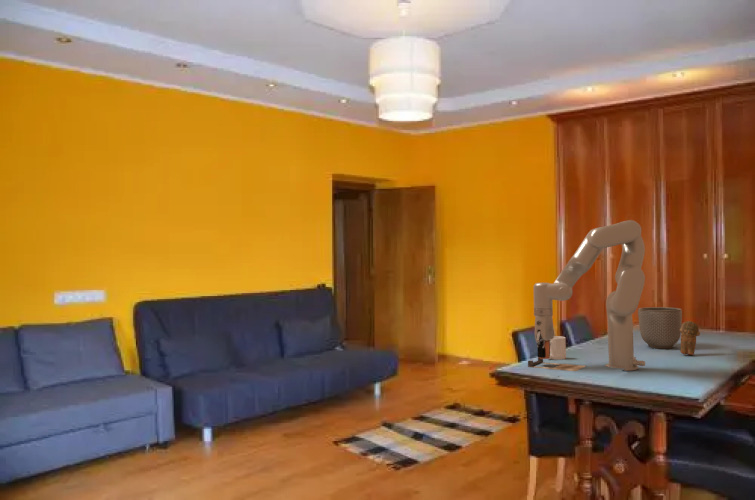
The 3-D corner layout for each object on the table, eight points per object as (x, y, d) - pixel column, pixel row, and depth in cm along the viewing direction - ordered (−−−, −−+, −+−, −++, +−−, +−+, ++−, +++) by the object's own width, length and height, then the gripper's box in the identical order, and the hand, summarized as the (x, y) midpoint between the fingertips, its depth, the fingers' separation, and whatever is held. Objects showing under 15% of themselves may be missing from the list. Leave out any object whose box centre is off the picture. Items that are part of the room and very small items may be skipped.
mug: (553, 363, 265) (552, 339, 265) (537, 361, 271) (536, 338, 271) (569, 360, 272) (569, 337, 272) (554, 358, 279) (553, 335, 279)
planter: (690, 350, 291) (689, 309, 292) (649, 351, 292) (647, 310, 292) (671, 344, 311) (670, 306, 311) (632, 345, 311) (631, 307, 312)
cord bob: (551, 357, 256) (550, 340, 256) (547, 359, 252) (546, 342, 252) (540, 356, 258) (540, 340, 258) (536, 358, 255) (536, 341, 255)
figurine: (680, 356, 275) (679, 322, 276) (679, 353, 283) (678, 320, 283) (702, 356, 272) (700, 323, 272) (700, 354, 280) (698, 321, 280)
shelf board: (586, 368, 251) (586, 359, 251) (576, 374, 241) (575, 364, 241) (539, 364, 263) (539, 356, 263) (527, 369, 253) (527, 360, 253)
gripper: (544, 314, 246) (545, 360, 246) (559, 311, 260) (559, 354, 260) (526, 313, 251) (527, 358, 250) (542, 310, 264) (542, 353, 264)
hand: (543, 356), depth 255 cm, fingers closed on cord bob, 4 cm apart
